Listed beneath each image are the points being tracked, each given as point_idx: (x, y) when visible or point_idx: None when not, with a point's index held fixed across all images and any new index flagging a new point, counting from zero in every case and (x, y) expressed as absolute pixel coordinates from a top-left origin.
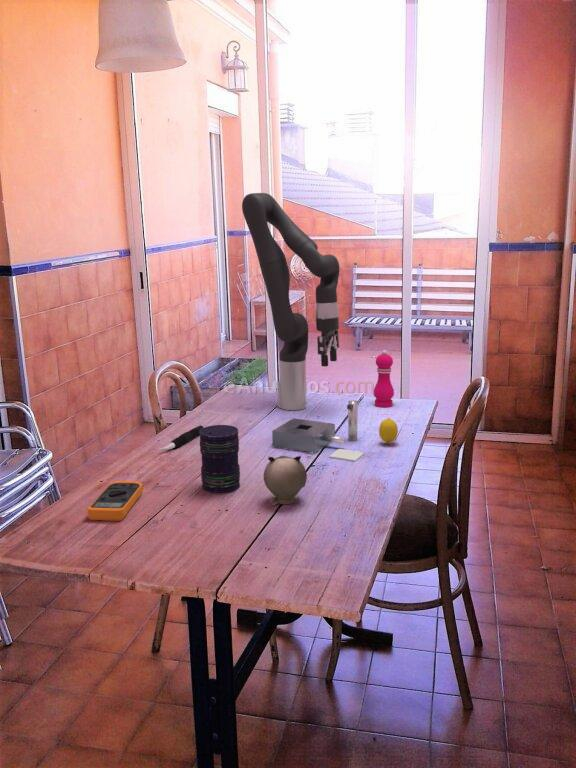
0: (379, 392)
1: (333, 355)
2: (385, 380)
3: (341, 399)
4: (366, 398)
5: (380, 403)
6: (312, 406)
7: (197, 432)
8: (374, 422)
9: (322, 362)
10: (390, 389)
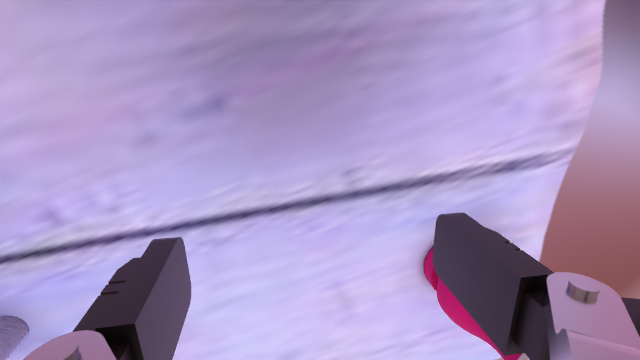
0: (448, 296)
1: (467, 281)
2: (493, 346)
3: (501, 96)
4: (527, 181)
5: (430, 270)
6: (361, 10)
7: None
8: (242, 309)
9: (114, 287)
10: (469, 332)
